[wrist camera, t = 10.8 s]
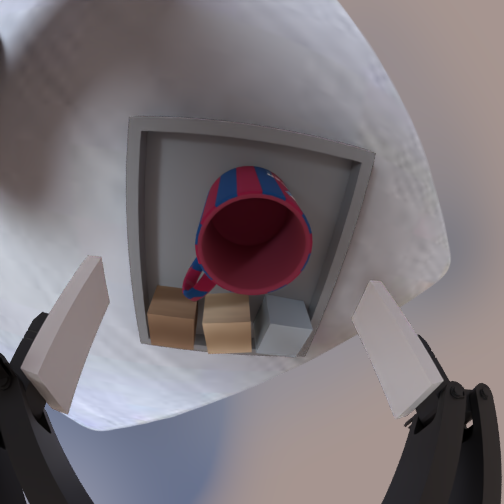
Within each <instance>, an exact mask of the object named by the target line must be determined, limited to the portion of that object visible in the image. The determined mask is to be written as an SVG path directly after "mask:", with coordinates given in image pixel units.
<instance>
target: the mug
mask: <svg viewBox="0 0 504 504" xmlns="http://www.w3.org/2000/svg"><path fill="white" fill-rule="evenodd" d="M312 244H313V241H312V232H311V228H310V225H309V222H308V220H307V218H306V216H305V215H304V213H303V212H302V210H301V208H300V207H299V205H298V204H297V202H296V201H295V199H294V198H293V196H292V195H291V193H290V192H289V190H288V188H287V187H286V185H285V184H284V183H283V182H282V180H281V179H280V178H279V177H278V176H277V175H275V174H274V173H272V172H271V171H269V170H267V169H264V168H261V167H256V166H242V167H237V168H234V169H231V170H229V171H227V172H226V173H224V174H222V175H221V176H220V177H219V178H218V179H217V180H216V181H215V182H214V183H213V185H212V186H211V188H210V190H209V192H208V195H207V198H206V202H205V205H204V208H203V212H202V215H201V219H200V222H199V226H198V229H197V233H196V239H195V251H196V256H197V257H196V258H195V260H194V261H193V263H192V264H191V266H190V268H189V269H188V271H187V273H186V276H185V278H184V281H183V286H182V293H183V295H184V296H185V297H186V298H187V299H189V300H191V301H194V302H195V301H198V300H200V299H202V298H203V297H204V296H206V295H207V294H208V293H209V292H210V291H211V290H212V289H213V288H214V287H215V286H216V284H217V285H218V286H220V287H221V288H223V289H226V290H228V291H230V292H234V293H237V294H243V295H261V294H267V293H270V292H273V291H276V290H278V289H280V288H283V287H285V286H286V285H288V284H289V283H291V282H292V281H293V280H294V279H295V278H296V277H297V276H299V274H300V273H301V272H302V271H303V269H304V268H305V266H306V264H307V262H308V260H309V258H310V255H311V251H312ZM202 271H203V272H204V274H203V276H202V277H201V278H200V280H199V281H198V282H197V280H198V278H199V276H200V274H201V273H202Z"/></svg>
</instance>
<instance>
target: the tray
mask: <svg viewBox="0 0 504 504" xmlns="http://www.w3.org/2000/svg"><path fill="white" fill-rule="evenodd" d="M375 155H376V153H374V152H371V151H368V150H366V149H363V148H359V147H356V146H352V145H349V144H345V143H341V142H337V141H333V140H329V139H325V138H321V137H317V136H312V135H308V134H303V133H298V132H293V131H288V130H283V129H277V128H272V127H266V126H259V125H253V124H246V123H238V122H230V121H221V120H211V119H200V118H186V117H165V116H135V117H129V126H128V140H127V161H126V214H127V236H128V251H129V263H130V273H131V282H132V291H133V299H134V306H135V313H136V319H137V325H138V331H139V337H140V342H141V343H142V344H148V345H151V339H150V332H149V324H148V317H147V312H148V309H149V306H150V304H151V301H152V298H153V295H154V292H155V290H156V287H157V285H160V286H168V287H177V288H182V286H183V281H184V278H185V276H186V273H187V271H188V269H189V268H190V266H191V264H192V263H193V261H194V260H195V258H196V257H197V256H196V251H195V239H196V233H197V229H198V226H199V222H200V219H201V215H202V212H203V208H204V205H205V202H206V198H207V195H208V192H209V190H210V188H211V186H212V185H213V183H214V182H215V181H216V180H217V179H218V178H219V177H220V176H221V175H222V174H224V173H226V172H227V171H229V170H231V169H234V168H237V167H242V166H256V167H261V168H264V169H267V170H269V171H271V172H272V173H274V174H275V175H277V176H278V177H279V178H280V179H281V180H282V182H283V183H284V184H285V185H286V187H287V188H288V190H289V192H290V193H291V195H292V196H293V198H294V199H295V201H296V202H297V204H298V205H299V207H300V208H301V210H302V212H303V213H304V215H305V216H306V218H307V220H308V222H309V225H310V228H311V232H312V241H313V244H312V251H311V255H310V258H309V260H308V262H307V264H306V266H305V268H304V269H303V271H302V272H301V273H300V274H299V276H297V277H296V278H295V279H294V280H293V281H292V282H291V283H289V284H288V285H286V286H285V287H283V288H280V289H278V290H276V291H273V292H270V293H267V294H268V295H273V296H278V297H283V298H289V299H294V300H300V301H304V303H305V307H306V310H307V313H308V316H309V319H310V322H311V325H312V328H313V330H312V332H311V334H310V335H309V337H308V339H307V340H306V342H305V343H304V345H303V347H302V348H301V350H300V351H299V353H298V354H297V356H305V355H306V353H307V351H308V348H309V346H310V344H311V342H312V340H313V337H314V335H315V333H316V330H317V328H318V326H319V323H320V321H321V319H322V316H323V314H324V311H325V309H326V306H327V304H328V301H329V299H330V296H331V294H332V291H333V289H334V286H335V283H336V281H337V278H338V275H339V273H340V270H341V267H342V264H343V262H344V259H345V256H346V253H347V250H348V247H349V244H350V241H351V238H352V235H353V232H354V229H355V226H356V223H357V220H358V216H359V213H360V210H361V206H362V203H363V200H364V196H365V193H366V189H367V185H368V182H369V178H370V174H371V171H372V167H373V163H374V159H375ZM203 274H204V272H203V271H202V273H201V274H200V276H199V278H198V280H197V282H198V281H199V280H200V278H201V277H202V276H203ZM217 293H234V292H230V291H228V290H226V289H223V288H221V287H220V286H218V285H217V284H216V286H215V287H214V288H213V289H212V290H211V291H210V292H209V293H208V294H217ZM265 295H266V294H261V295H249V307H250V319H251V347H252V352H246V353H225V354H239V355H258V356H276V355H268V354H260V353H256V347H255V336H254V326H253V323H254V321H255V318H256V316H257V314H258V311H259V309H260V306H261V304H262V302H263V299H264V297H265ZM204 304H205V296H204V297H203V298H202V299H200V300H198V315H197V326H196V334H195V342H194V350H193V351H202V352H208V350H207V345H206V340H205V335H204V330H203V325H202V321H203V312H204ZM154 346H158V345H154ZM161 347H165V346H161ZM168 348H172V347H168ZM176 349H180V348H176ZM184 350H188V349H184Z"/></svg>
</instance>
